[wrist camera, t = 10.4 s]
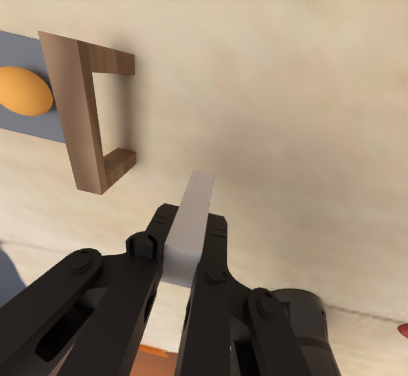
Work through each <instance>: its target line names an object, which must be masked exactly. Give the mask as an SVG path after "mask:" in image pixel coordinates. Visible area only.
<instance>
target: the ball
mask: <svg viewBox="0 0 408 376" xmlns="http://www.w3.org/2000/svg"><path fill="white" fill-rule="evenodd" d="M0 103H1V104H2V105H3V106H5V107H6V108H7V109H9V110H11V111H13V112H15V113H18V114H21V115H25V116H39V115H42V114H44V113H46V112H47V111H48V110H49V109H50V108H51V106H52V103H53V96H52V93H51V90H50V89H49V87H48V85H47V84H46V83H45V82H44V81H43V80H42V79H41V78H40V77H39V76H37V75H36V74H34V73H33V72H31V71H29V70H26V69H24V68H20V67H16V66H4V67H1V68H0Z"/></svg>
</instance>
